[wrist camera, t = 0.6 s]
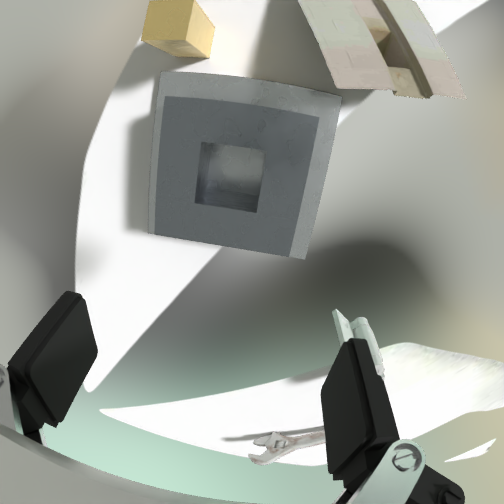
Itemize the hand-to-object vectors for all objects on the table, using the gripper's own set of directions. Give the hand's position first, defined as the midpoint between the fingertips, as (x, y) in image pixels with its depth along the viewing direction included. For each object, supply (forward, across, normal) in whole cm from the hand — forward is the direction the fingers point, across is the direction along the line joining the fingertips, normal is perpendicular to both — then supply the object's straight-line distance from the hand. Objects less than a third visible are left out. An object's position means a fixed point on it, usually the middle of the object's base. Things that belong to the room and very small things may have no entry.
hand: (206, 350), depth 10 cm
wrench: (+27, -21, +51) cm, 61 cm away
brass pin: (+27, +8, -15) cm, 32 cm away
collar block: (+27, +2, -1) cm, 27 cm away
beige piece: (+28, -11, -19) cm, 35 cm away
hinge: (+27, -19, +23) cm, 40 cm away
